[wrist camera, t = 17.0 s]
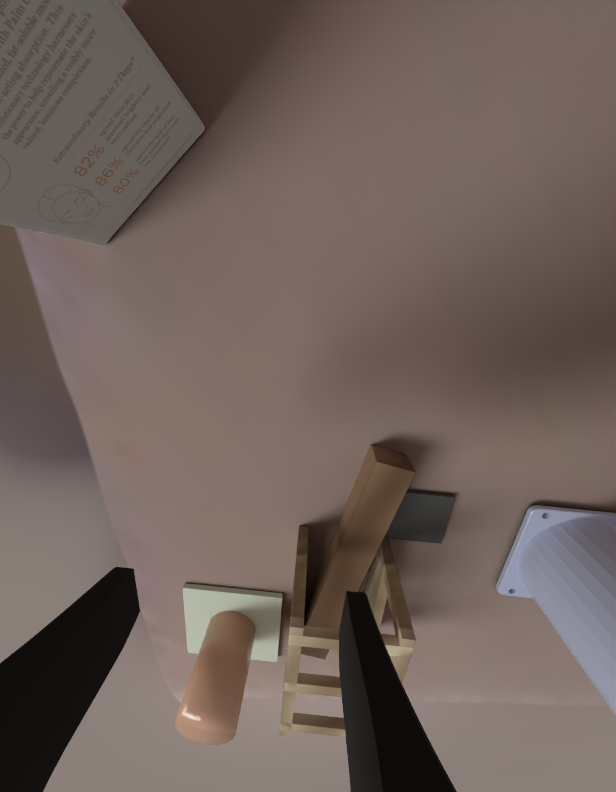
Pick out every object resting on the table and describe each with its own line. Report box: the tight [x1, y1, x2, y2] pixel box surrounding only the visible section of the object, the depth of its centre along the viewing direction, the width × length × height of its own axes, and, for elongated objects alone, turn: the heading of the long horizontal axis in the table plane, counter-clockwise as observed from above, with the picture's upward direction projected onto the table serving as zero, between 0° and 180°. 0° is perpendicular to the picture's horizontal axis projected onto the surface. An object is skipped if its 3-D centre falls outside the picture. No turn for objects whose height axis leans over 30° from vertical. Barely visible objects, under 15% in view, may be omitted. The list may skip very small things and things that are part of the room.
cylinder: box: [175, 611, 256, 745], centre depth 22 cm, size 4×4×6 cm
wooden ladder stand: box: [279, 526, 416, 737], centre depth 20 cm, size 6×10×7 cm, turn 175°
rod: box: [301, 445, 416, 659], centre depth 21 cm, size 2×18×2 cm, turn 164°
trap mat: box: [385, 490, 455, 544], centre depth 20 cm, size 4×4×1 cm
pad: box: [183, 583, 283, 662], centre depth 25 cm, size 8×8×1 cm
